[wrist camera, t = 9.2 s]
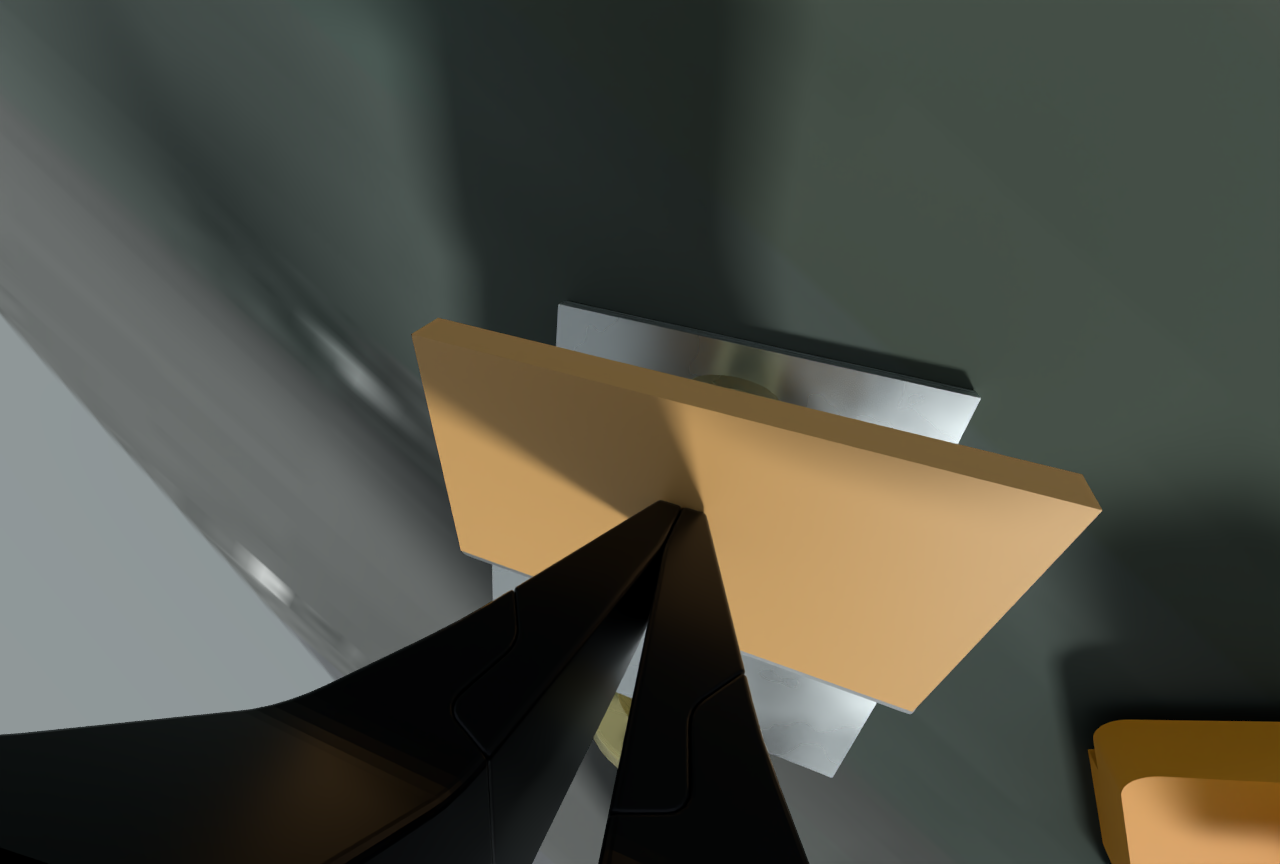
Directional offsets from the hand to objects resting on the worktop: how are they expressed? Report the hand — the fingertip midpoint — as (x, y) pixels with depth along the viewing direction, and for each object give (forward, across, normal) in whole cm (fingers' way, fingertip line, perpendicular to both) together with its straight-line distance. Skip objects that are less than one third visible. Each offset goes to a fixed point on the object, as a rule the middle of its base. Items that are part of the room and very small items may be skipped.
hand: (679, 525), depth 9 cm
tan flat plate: (+1, 0, +1) cm, 1 cm away
